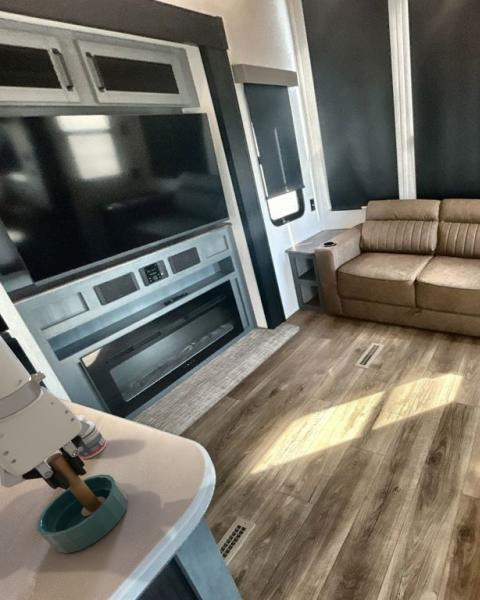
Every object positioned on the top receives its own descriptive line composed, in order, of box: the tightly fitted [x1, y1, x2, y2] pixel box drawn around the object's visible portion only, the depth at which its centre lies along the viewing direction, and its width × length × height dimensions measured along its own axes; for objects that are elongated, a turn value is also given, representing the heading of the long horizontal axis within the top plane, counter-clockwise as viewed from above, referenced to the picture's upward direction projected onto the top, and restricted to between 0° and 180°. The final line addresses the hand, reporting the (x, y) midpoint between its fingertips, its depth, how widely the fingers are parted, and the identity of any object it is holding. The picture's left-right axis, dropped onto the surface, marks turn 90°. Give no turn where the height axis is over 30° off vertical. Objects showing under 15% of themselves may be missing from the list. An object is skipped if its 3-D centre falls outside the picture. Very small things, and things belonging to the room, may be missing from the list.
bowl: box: [36, 473, 129, 554], centre depth 65 cm, size 11×11×6 cm
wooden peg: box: [45, 452, 106, 519], centre depth 63 cm, size 4×4×14 cm
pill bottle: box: [75, 414, 107, 460], centre depth 80 cm, size 5×5×9 cm
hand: (71, 479), depth 62 cm, fingers closed on wooden peg, 2 cm apart
